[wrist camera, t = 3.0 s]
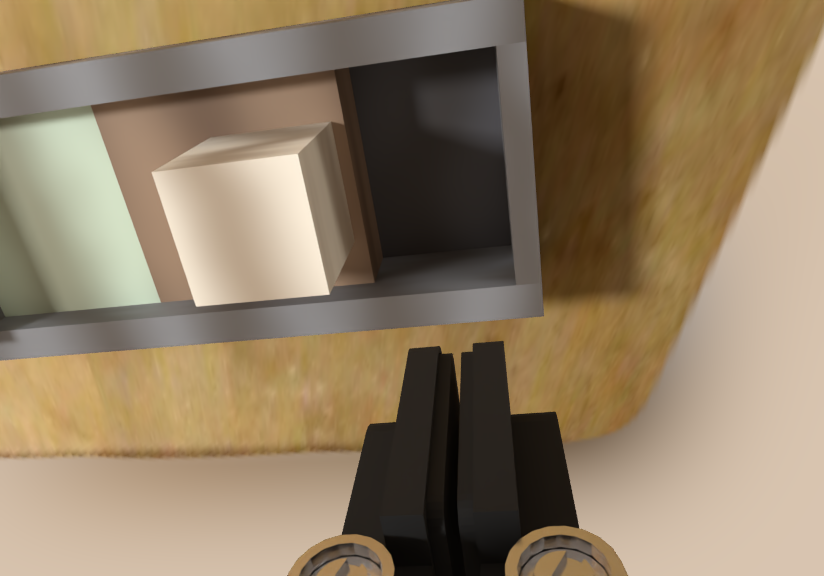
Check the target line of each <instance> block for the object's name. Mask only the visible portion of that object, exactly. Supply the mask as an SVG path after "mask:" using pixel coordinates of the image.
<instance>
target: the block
mask: <svg viewBox="0 0 824 576" xmlns="http://www.w3.org/2000/svg"><path fill="white" fill-rule="evenodd" d="M152 175H153V178H154V181H155V184H156V187H157V190H158V193H159V196H160V199H161V202H162V205H163V208H164V211H165V214H166V217H167V220H168V223H169V226H170V229H171V233H172V236H173V239H174V242H175V245H176V248H177V251H178V254H179V257H180V260H181V263H182V266H183V269H184V272H185V275H186V278H187V281H188V284H189V287H190V290H191V293H192V296H193V299H194V302H195V305H196V307H198V306H209V305H220V304H231V303H242V302H253V301H264V300H275V299H286V298H297V297H308V296H319V295H330V293H331V291H332V288H333V286H334V284H335V282H336V280H337V278H338V276H339V274H340V271H341V269H342V267H343V265H344V263H345V261H346V259H347V257H348V255H349V252H350V250H351V248H352V246H353V244H354V242H355V239H354V234H353V229H352V224H351V219H350V214H349V209H348V204H347V199H346V194H345V189H344V184H343V179H342V174H341V169H340V164H339V159H338V154H337V149H336V144H335V139H334V134H333V129H332V124H331V122H324V123H316V124H309V125H301V126H294V127H286V128H279V129H271V130H264V131H256V132H249V133H241V134H234V135H226V136H219V137H211V138H209V139H207V140H205V141H204V142H202V143H200V144H198V145H197V146H195V147H193V148H192V149H190V150H188V151H187V152H185V153H183V154H182V155H180V156H178V157H177V158H175V159H173V160H171V161H170V162H168V163H166V164H165V165H163V166H161V167H160V168H158V169H156V170H155V171H153V172H152Z"/></svg>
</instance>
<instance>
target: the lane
mask: <svg viewBox="0 0 824 576" xmlns="http://www.w3.org/2000/svg"><path fill="white" fill-rule="evenodd" d="M324 122H331V124H332V129H333V134H334V139H335V144H336V149H337V154H338V159H339V164H340V169H341V174H342V179H343V184H344V189H345V194H346V199H347V204H348V209H349V214H350V219H351V224H352V229H353V234H354V239H355V242H354V244H353V246H352V248H351V250H350V252H349V255H348V257H347V259H346V261H345V263H344V265H343V267H342V269H341V271H340V274H339V276H338V278H337V280H336V282H335V284H334V286H333V288H332V291H331V293H330V295H319V296H308V297H297V298H286V299H275V300H264V301H253V302H242V303H231V304H220V305H209V306H198V307H196V305H195V302H194V299H193V296H192V293H191V290H190V287H189V284H188V281H187V278H186V275H185V272H184V269H183V266H182V263H181V260H180V257H179V254H178V251H177V248H176V245H175V242H174V239H173V236H172V233H171V229H170V226H169V223H168V220H167V217H166V214H165V211H164V208H163V205H162V202H161V199H160V196H159V193H158V190H157V187H156V184H155V181H154V178H153V175H152V172H153V171H155V170H156V169H158V168H160V167H161V166H163V165H165V164H166V163H168V162H170V161H171V160H173V159H175V158H177V157H178V156H180V155H182V154H183V153H185V152H187V151H188V150H190V149H192V148H193V147H195V146H197V145H198V144H200V143H202V142H204V141H205V140H207V139H209V138H211V137H219V136H226V135H234V134H241V133H249V132H256V131H264V130H271V129H279V128H286V127H294V126H301V125H309V124H316V123H324ZM541 316H544V309H543V293H542V278H541V262H540V246H539V231H538V215H537V200H536V184H535V169H534V153H533V137H532V122H531V106H530V91H529V75H528V60H527V44H526V28H525V13H524V0H450V1H444V2H438V3H431V4H425V5H419V6H412V7H406V8H400V9H394V10H387V11H381V12H375V13H368V14H362V15H356V16H349V17H343V18H337V19H331V20H324V21H318V22H312V23H305V24H299V25H293V26H286V27H280V28H274V29H267V30H261V31H255V32H249V33H242V34H236V35H230V36H223V37H217V38H211V39H204V40H198V41H192V42H186V43H179V44H173V45H167V46H160V47H154V48H148V49H141V50H135V51H129V52H123V53H116V54H110V55H104V56H97V57H91V58H85V59H78V60H72V61H66V62H60V63H53V64H47V65H41V66H34V67H28V68H22V69H15V70H9V71H3V72H0V360H12V359H24V358H37V357H49V356H61V355H74V354H86V353H98V352H111V351H123V350H135V349H147V348H160V347H172V346H184V345H197V344H209V343H221V342H234V341H246V340H258V339H270V338H283V337H295V336H307V335H320V334H332V333H344V332H357V331H369V330H381V329H393V328H406V327H418V326H430V325H443V324H455V323H467V322H480V321H492V320H504V319H516V318H529V317H541Z"/></svg>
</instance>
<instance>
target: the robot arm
mask: <svg viewBox="0 0 824 576" xmlns="http://www.w3.org/2000/svg"><path fill="white" fill-rule="evenodd" d="M287 576H628V575H627V572H626V570H625V568H624V566H623V564H622V562H621V560H620V558H619V557H618V555H617V554H616V552H615V551H614V549H613V548H612V547H611V546H610V545H608V544H607V543H606V542H605V541H603V540H602V539H601V538H600V537H598V536H596V535H594V534H592V533H590V532H588V531H585V530H583V529H579V525H578V519H577V514H576V510H575V504H574V500H573V494H572V489H571V485H570V479H569V474H568V469H567V464H566V459H565V454H564V449H563V444H562V439H561V434H560V429H559V424H558V419H557V415H556V412H544V413H529V414H514V415H511V413H510V403H509V393H508V383H507V372H506V362H505V352H504V342H503V341H497V342H485V343H473V352H462V353H461V384H460V402H459V394H458V387H457V380H456V373H455V365H454V358H453V354H452V353H449V354H442V352H441V348H440V346H436V347H424V348H412V349H409V352H408V357H407V363H406V369H405V374H404V380H403V386H402V391H401V397H400V403H399V408H398V414H397V420H396V422H392V423H377V424H370V425H369V426H368V429H367V432H366V435H365V440H364V444H363V448H362V452H361V457H360V461H359V465H358V469H357V473H356V477H355V482H354V486H353V490H352V494H351V498H350V503H349V507H348V511H347V515H346V519H345V523H344V528H343V532H342V535H339V536H336V537H332V538H329V539H326V540H323V541H322V542H320V543H318V544H316V545H315V546H313V547H311V548H310V549H308V550H307V551H306V552H305V553H304V554H303V555H302V556H301V557H299V558H298V560H297V561H296V562H295V564H294V566H293V567H292V568H291V570H290V572H289V573H288V575H287Z"/></svg>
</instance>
